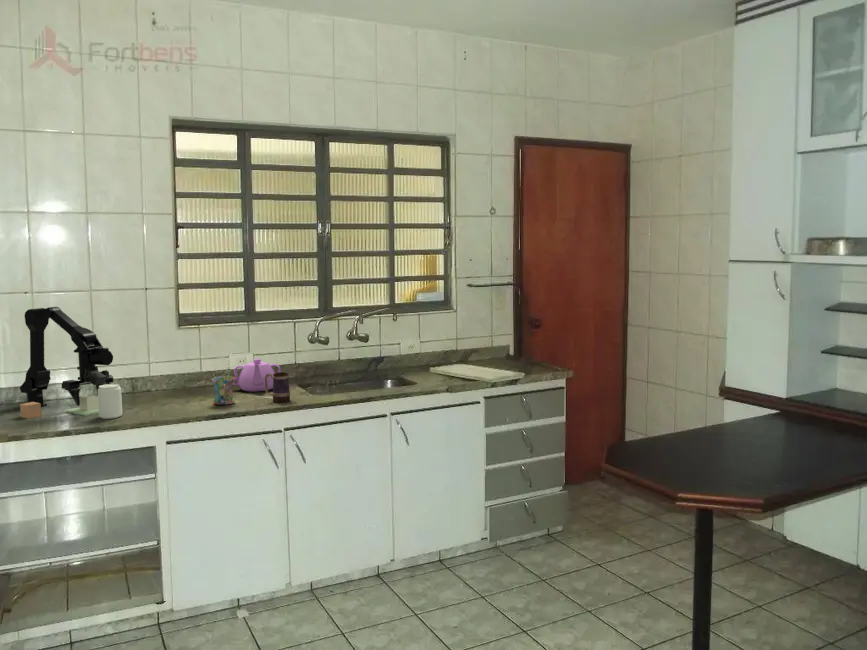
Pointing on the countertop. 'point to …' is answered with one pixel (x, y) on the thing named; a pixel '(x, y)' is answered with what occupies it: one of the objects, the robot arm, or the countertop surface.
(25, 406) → the terracotta brick
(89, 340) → the robot arm
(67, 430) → the countertop surface
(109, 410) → the beverage can
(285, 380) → the mug
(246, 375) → the teapot
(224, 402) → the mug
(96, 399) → the cream brick
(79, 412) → the plate
